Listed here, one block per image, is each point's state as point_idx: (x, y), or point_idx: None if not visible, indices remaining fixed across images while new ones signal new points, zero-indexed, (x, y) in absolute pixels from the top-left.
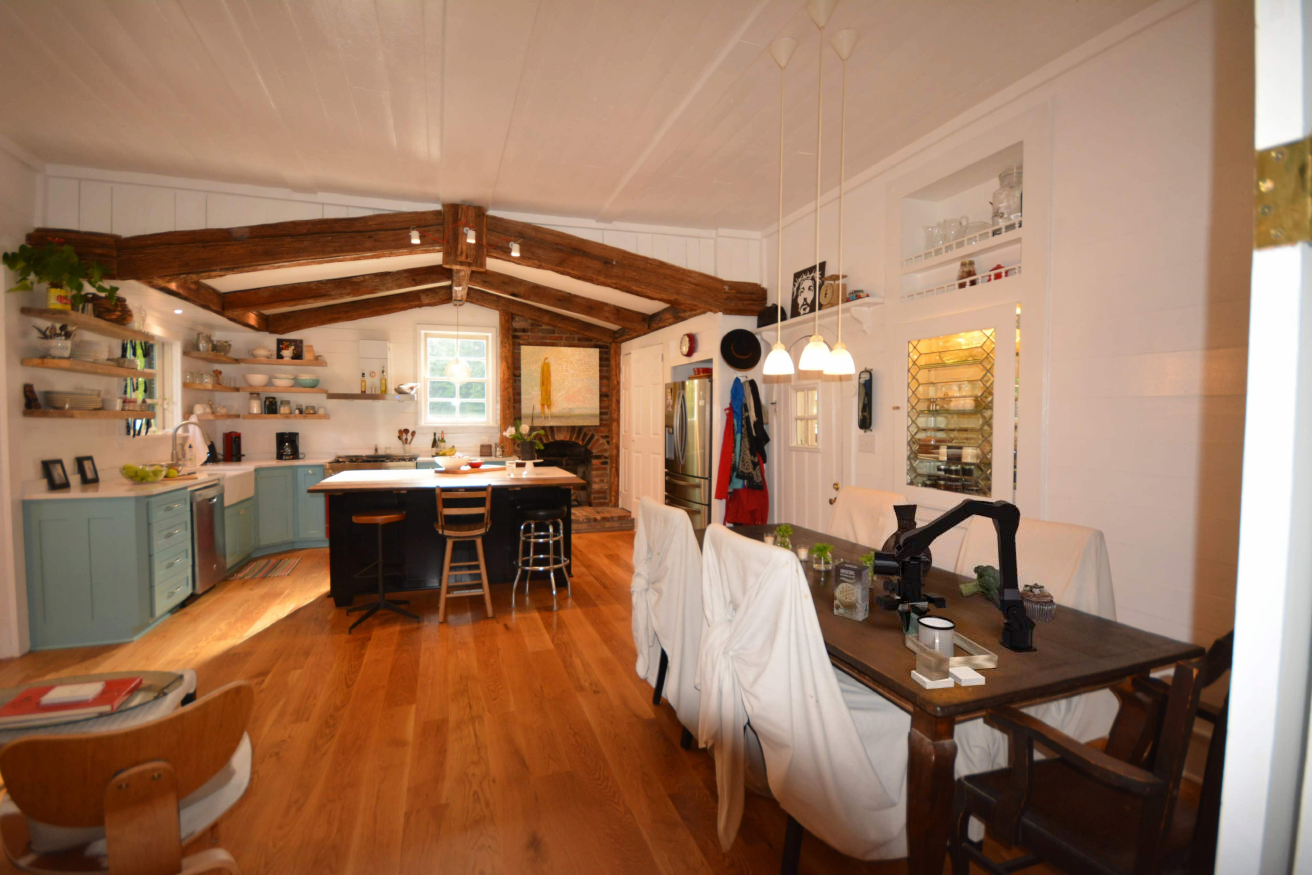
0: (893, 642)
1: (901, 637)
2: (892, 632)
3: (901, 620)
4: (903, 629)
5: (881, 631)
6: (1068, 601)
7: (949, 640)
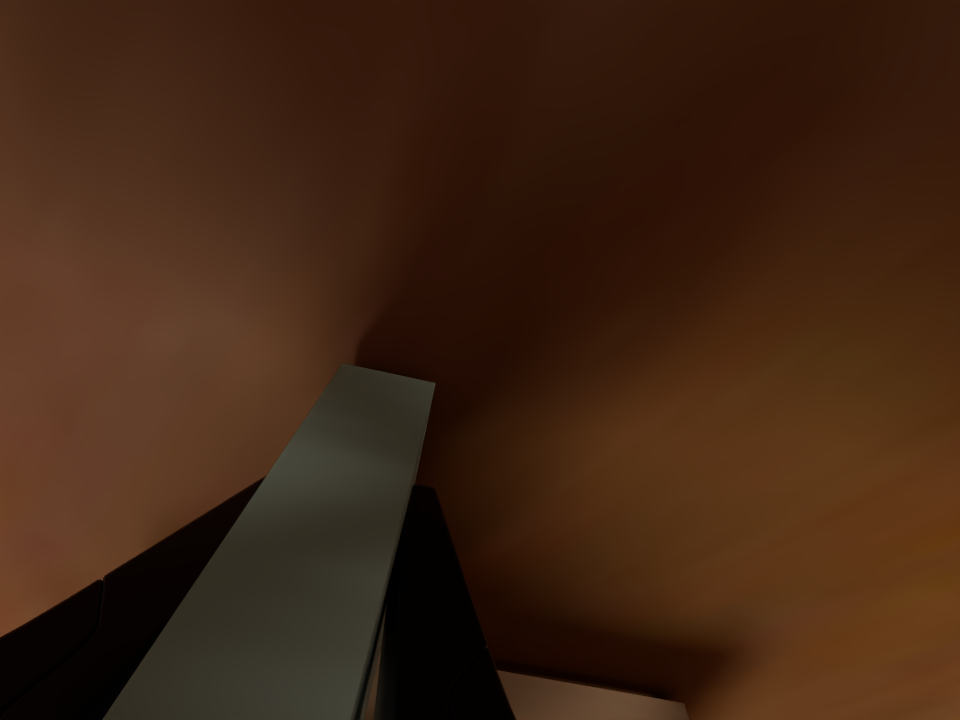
0: (68, 497)
1: (247, 432)
2: (221, 255)
3: (134, 565)
4: (324, 397)
5: (52, 147)
6: None
7: None
